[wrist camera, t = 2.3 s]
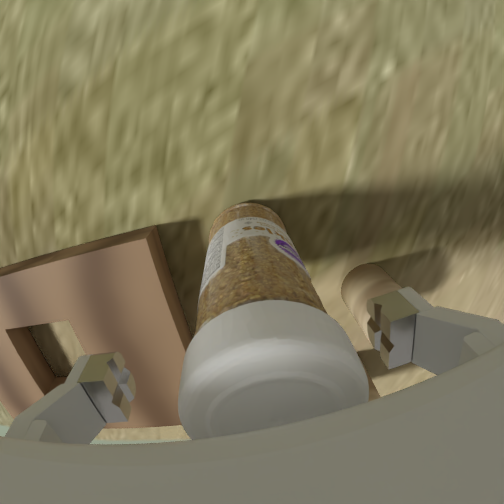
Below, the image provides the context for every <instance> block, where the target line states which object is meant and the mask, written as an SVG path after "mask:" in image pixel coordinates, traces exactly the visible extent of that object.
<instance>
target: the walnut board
mask: <svg viewBox="0 0 504 504" xmlns="http://www.w3.org/2000/svg"><path fill="white" fill-rule="evenodd" d="M65 320H69V322H70V324H71V326H72V328H73V330H74V332H75V334H76V336H77V338H78V340H79V342H80V344H81V346H82V348H83V350H84V352H85V353H86V355H90V354H100V353H109V352H119V353H121V354H122V356H123V358H124V360H125V361H126V362H125V365H124V367H125V368H126V369H127V370H129V371H130V372H131V373H132V375H133V377H134V381H135V384H136V394H135V398H134V399H133V400H132V401H131V402H130V405H131V407H132V409H131V413H130V416H129V420H128V422H116V423H106V425H105V427H104V428H143V427H161V426H174V425H182V424H181V421H180V417H179V413H178V396H179V387H180V379H181V374H182V368H183V361H184V356H185V353H186V351H187V348H188V346H189V344H190V342H191V341H192V339H193V338H192V335H191V333H190V330H189V327H188V324H187V321H186V318H185V316H184V313H183V310H182V307H181V304H180V301H179V298H178V295H177V292H176V289H175V286H174V283H173V280H172V276H171V273H170V270H169V267H168V264H167V261H166V257H165V254H164V251H163V247H162V244H161V241H160V237H159V234H158V230H157V227H156V225H155V226H151V227H146V228H142V229H138V230H134V231H131V232H127V233H123V234H119V235H115V236H111V237H107V238H104V239H100V240H96V241H92V242H89V243H85V244H81V245H78V246H74V247H70V248H67V249H63V250H60V251H56V252H53V253H49V254H46V255H42V256H39V257H36V258H32V259H29V260H25V261H22V262H19V263H16V264H12V265H9V266H6V267H3V268H0V401H1V403H2V404H3V405H4V407H5V408H6V409H7V411H8V412H9V413H10V415H11V416H12V417H13V419H15V417H16V416H18V415H19V414H20V413H22V412H23V411H25V410H26V409H27V408H29V407H30V406H31V405H33V404H34V403H35V402H37V401H38V400H40V399H41V398H42V397H44V396H45V395H46V394H48V393H49V392H51V391H52V390H53V389H55V388H56V387H57V386H59V385H60V384H64V383H65V381H66V379H67V377H55V375H54V374H53V372H52V370H51V369H50V367H49V365H48V364H47V362H46V360H45V358H44V357H43V355H42V353H41V351H40V350H39V348H38V346H37V344H36V342H35V340H34V339H33V337H32V335H31V333H30V331H29V329H28V327H27V326H32V325H39V324H46V323H52V322H58V321H65Z"/></svg>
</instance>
